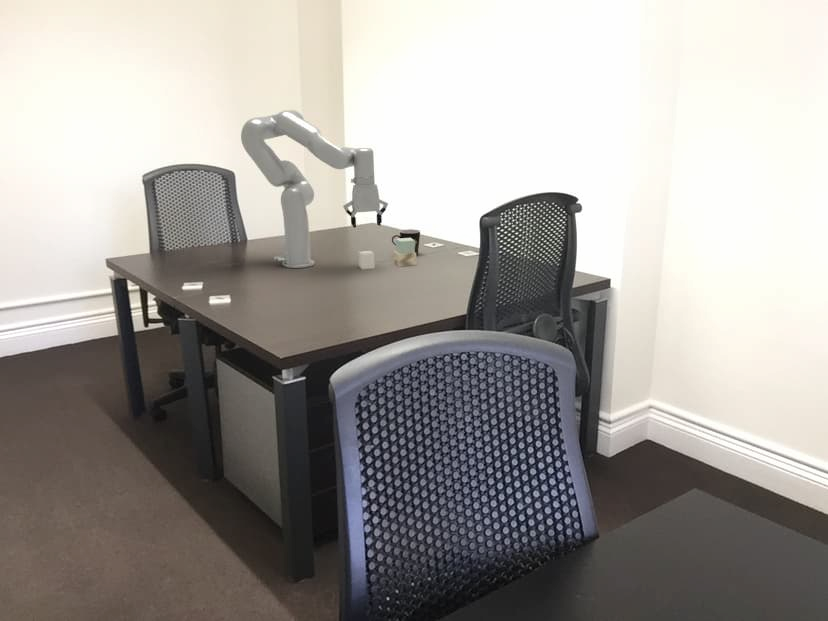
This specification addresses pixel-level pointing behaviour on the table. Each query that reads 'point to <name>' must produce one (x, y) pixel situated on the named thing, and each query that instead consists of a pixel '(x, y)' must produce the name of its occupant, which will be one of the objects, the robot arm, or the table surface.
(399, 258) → the tower base
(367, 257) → the top block
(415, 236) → the coffee mug
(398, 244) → the tower mid
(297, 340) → the table surface
